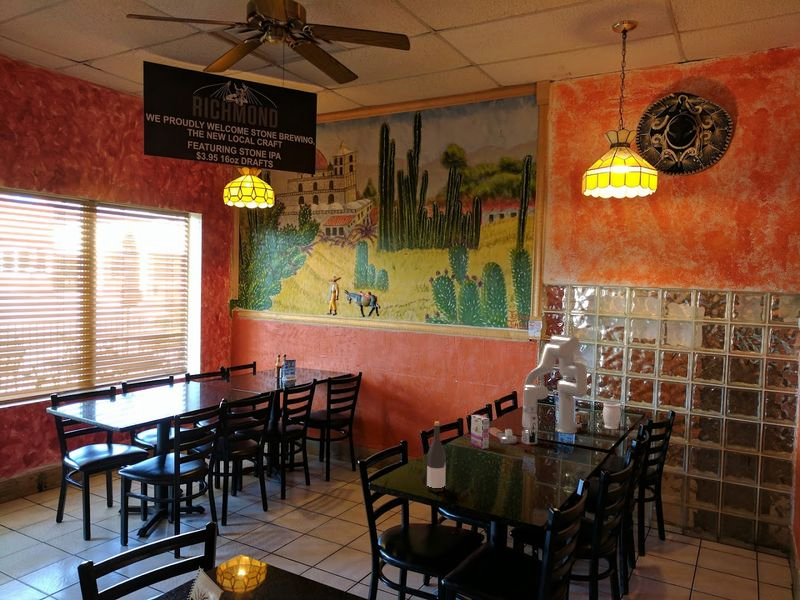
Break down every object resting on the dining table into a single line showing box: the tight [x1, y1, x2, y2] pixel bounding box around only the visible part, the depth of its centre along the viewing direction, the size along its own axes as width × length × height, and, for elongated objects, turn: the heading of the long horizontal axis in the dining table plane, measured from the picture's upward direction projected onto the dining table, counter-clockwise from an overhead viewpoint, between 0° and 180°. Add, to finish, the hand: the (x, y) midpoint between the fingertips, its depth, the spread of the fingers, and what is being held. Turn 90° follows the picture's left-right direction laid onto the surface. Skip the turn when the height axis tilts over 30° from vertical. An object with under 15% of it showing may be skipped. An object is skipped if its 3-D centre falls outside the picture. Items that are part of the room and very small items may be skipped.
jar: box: [602, 401, 622, 430], centre depth 367 cm, size 11×10×15 cm
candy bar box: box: [470, 414, 491, 450], centre depth 324 cm, size 11×5×16 cm, turn 27°
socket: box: [521, 429, 538, 445], centre depth 332 cm, size 6×6×7 cm
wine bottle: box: [426, 421, 447, 488], centre depth 259 cm, size 8×8×30 cm
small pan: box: [489, 426, 518, 445], centre depth 341 cm, size 9×26×7 cm, turn 17°
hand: (529, 440), depth 332 cm, fingers closed on socket, 6 cm apart
